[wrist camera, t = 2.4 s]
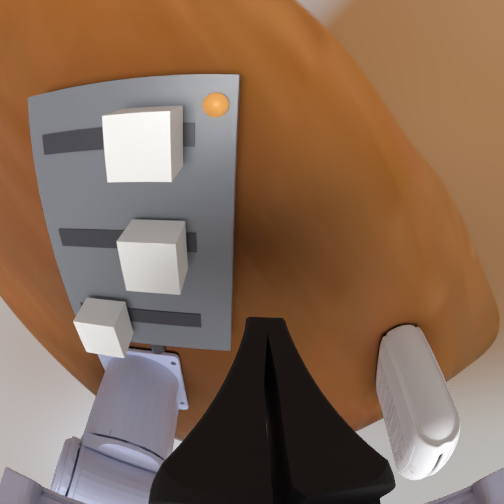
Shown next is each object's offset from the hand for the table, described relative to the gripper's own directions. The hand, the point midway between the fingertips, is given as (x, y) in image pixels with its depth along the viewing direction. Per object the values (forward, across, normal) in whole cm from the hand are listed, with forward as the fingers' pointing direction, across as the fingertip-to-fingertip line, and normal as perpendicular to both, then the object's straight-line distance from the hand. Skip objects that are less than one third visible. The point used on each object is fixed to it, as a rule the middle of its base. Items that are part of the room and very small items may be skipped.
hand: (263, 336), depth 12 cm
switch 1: (+6, +10, +6) cm, 13 cm away
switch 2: (+6, +6, -6) cm, 10 cm away
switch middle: (+6, +6, 0) cm, 8 cm away
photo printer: (+9, -14, +13) cm, 21 cm away
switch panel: (+9, +8, 0) cm, 12 cm away
